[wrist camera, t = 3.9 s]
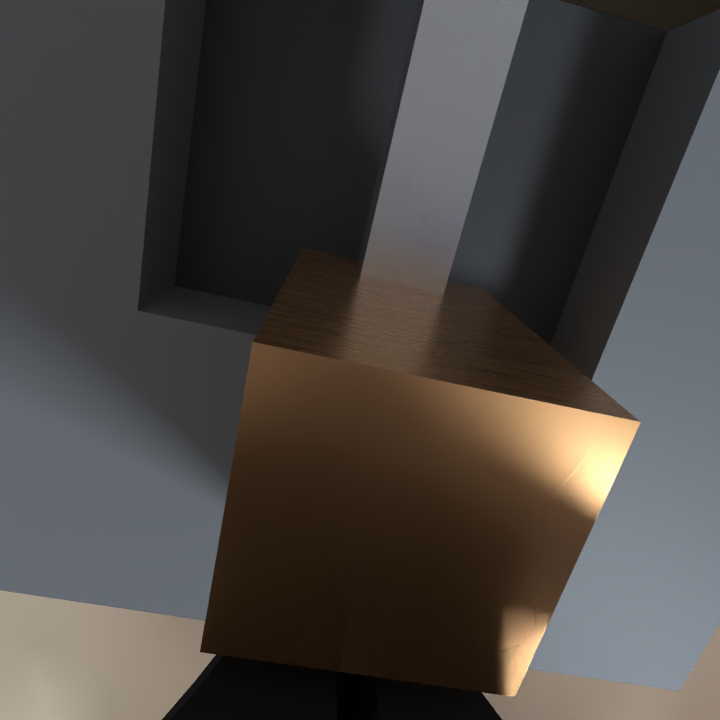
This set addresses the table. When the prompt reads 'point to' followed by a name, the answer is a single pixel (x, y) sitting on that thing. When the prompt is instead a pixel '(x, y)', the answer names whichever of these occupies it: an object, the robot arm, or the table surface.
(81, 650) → the table surface
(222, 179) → the grey slotted board
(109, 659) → the table surface
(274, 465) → the slider
